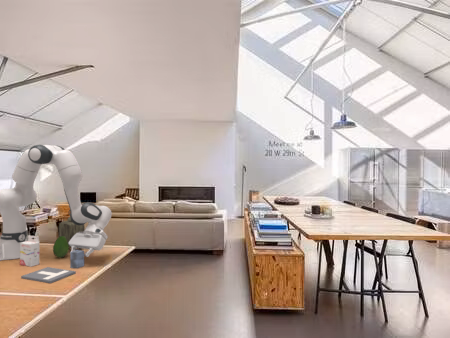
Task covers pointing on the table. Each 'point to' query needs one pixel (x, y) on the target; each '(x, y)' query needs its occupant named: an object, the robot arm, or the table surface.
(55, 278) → the letter board
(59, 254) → the fruit
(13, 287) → the table surface
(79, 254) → the slate-blue block
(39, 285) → the table surface
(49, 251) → the table surface
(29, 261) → the ink cartridge box
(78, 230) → the olive bag
